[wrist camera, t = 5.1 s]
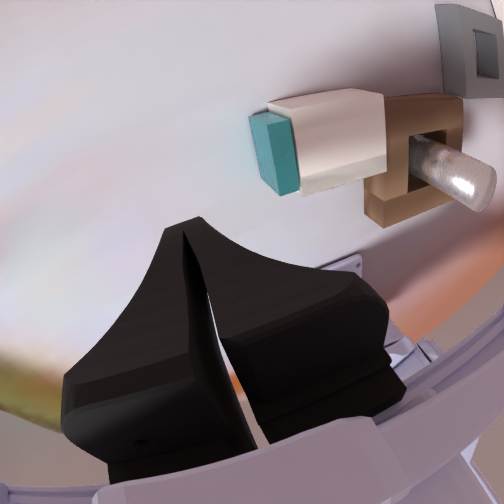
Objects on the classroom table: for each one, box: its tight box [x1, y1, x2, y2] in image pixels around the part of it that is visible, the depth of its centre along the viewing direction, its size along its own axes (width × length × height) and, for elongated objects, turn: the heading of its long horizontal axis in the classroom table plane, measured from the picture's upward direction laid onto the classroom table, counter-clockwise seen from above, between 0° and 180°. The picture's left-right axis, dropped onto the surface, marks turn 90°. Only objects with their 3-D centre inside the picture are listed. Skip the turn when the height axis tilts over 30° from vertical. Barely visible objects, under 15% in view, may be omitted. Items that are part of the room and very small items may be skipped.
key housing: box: [267, 88, 387, 197], centre depth 17 cm, size 5×6×3 cm
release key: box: [248, 112, 300, 196], centre depth 17 cm, size 4×7×3 cm, turn 102°
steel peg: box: [408, 134, 497, 212], centre depth 18 cm, size 3×3×8 cm
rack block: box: [435, 4, 504, 99], centre depth 17 cm, size 8×8×2 cm
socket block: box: [364, 93, 463, 229], centre depth 20 cm, size 9×9×2 cm
